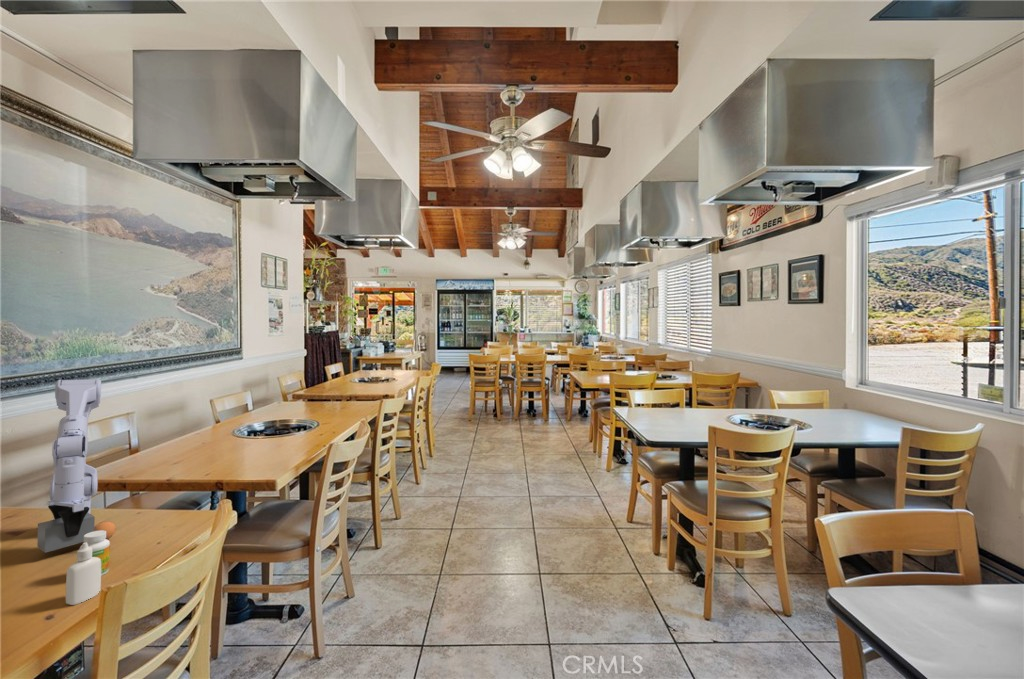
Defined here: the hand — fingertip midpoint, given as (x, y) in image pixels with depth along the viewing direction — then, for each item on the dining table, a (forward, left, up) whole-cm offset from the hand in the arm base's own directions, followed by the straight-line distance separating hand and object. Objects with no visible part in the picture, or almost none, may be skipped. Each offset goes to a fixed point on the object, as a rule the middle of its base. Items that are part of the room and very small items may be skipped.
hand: (68, 532), depth 120 cm
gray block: (0, 0, -2) cm, 3 cm away
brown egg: (0, +7, -2) cm, 8 cm away
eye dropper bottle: (+32, -6, -5) cm, 33 cm away
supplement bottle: (+21, -1, -5) cm, 22 cm away
